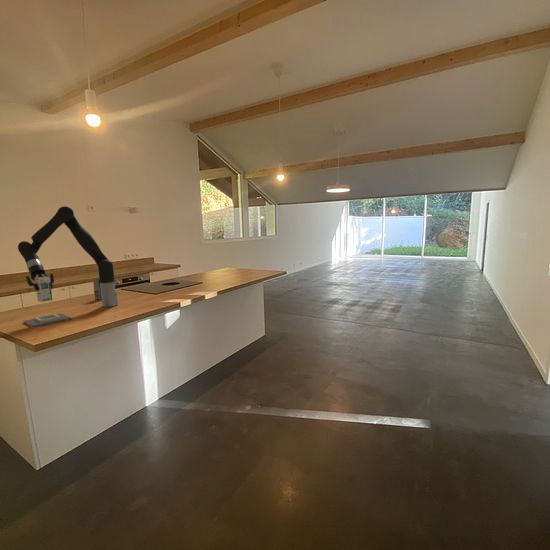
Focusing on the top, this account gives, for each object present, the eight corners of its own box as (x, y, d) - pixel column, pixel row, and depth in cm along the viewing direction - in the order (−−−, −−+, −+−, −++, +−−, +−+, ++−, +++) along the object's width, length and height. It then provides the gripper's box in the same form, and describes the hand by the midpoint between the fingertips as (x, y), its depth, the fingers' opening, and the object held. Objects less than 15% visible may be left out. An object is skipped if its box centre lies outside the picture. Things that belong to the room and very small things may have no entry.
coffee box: (101, 300, 254) (99, 279, 252) (94, 299, 255) (92, 279, 253) (109, 297, 263) (107, 277, 261) (103, 297, 264) (100, 277, 262)
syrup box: (41, 302, 191) (39, 278, 189) (37, 301, 195) (34, 277, 192) (52, 300, 196) (49, 276, 194) (47, 299, 199) (45, 276, 197)
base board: (61, 315, 210) (60, 311, 210) (71, 319, 199) (71, 315, 199) (23, 322, 195) (22, 318, 195) (32, 327, 184) (32, 323, 183)
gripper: (22, 265, 191) (31, 287, 186) (50, 263, 202) (59, 283, 197) (20, 273, 195) (29, 295, 190) (48, 270, 206) (57, 291, 201)
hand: (44, 289), depth 193 cm, fingers closed on syrup box, 6 cm apart
